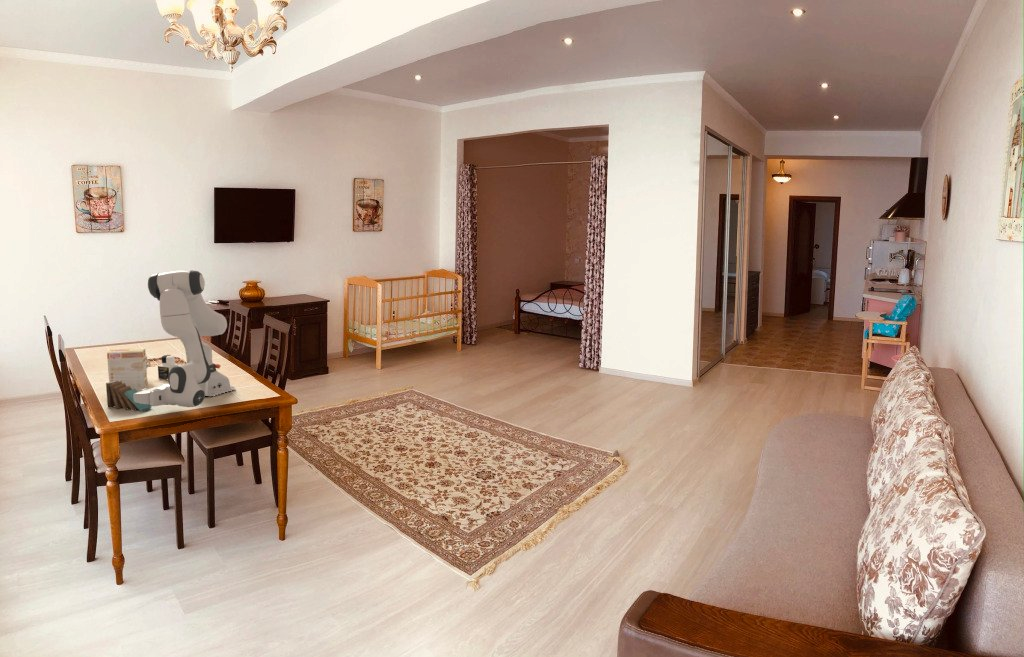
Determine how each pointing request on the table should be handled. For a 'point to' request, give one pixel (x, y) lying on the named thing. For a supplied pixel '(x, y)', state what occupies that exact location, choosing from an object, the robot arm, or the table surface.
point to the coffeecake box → (128, 367)
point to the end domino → (110, 394)
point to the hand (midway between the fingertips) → (142, 390)
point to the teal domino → (138, 405)
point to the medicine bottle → (166, 366)
